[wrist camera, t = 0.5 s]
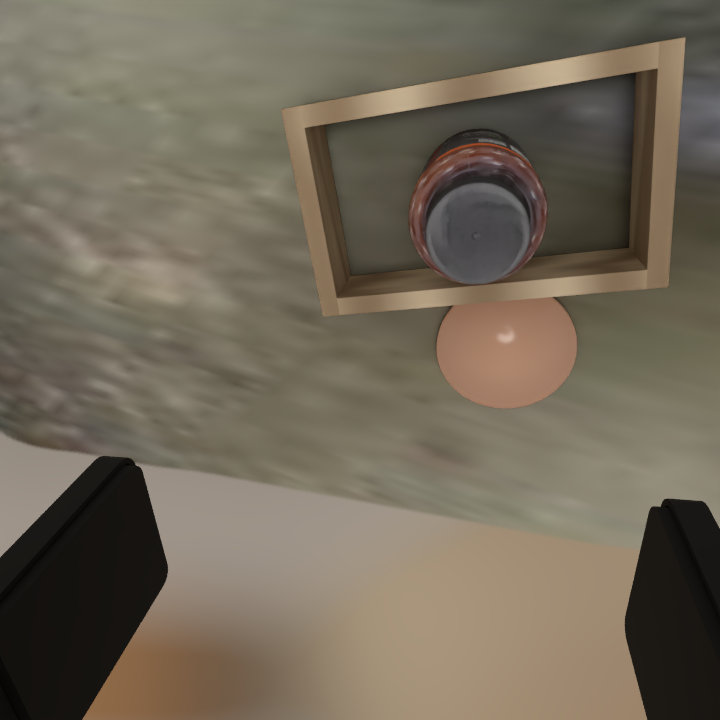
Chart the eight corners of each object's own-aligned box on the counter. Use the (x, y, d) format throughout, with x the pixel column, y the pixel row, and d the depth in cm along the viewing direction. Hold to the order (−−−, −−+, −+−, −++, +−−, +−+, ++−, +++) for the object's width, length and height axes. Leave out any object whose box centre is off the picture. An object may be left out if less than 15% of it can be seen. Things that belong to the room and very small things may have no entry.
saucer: (575, 275, 33) (577, 278, 33) (576, 400, 37) (577, 405, 36) (430, 288, 35) (429, 291, 35) (443, 406, 39) (443, 411, 38)
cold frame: (659, 41, 27) (685, 37, 24) (647, 263, 32) (668, 287, 29) (303, 104, 32) (281, 109, 28) (338, 292, 36) (323, 316, 33)
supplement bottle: (441, 250, 34) (425, 326, 24) (407, 151, 32) (374, 188, 22) (544, 217, 32) (572, 284, 22) (515, 108, 30) (532, 128, 20)
